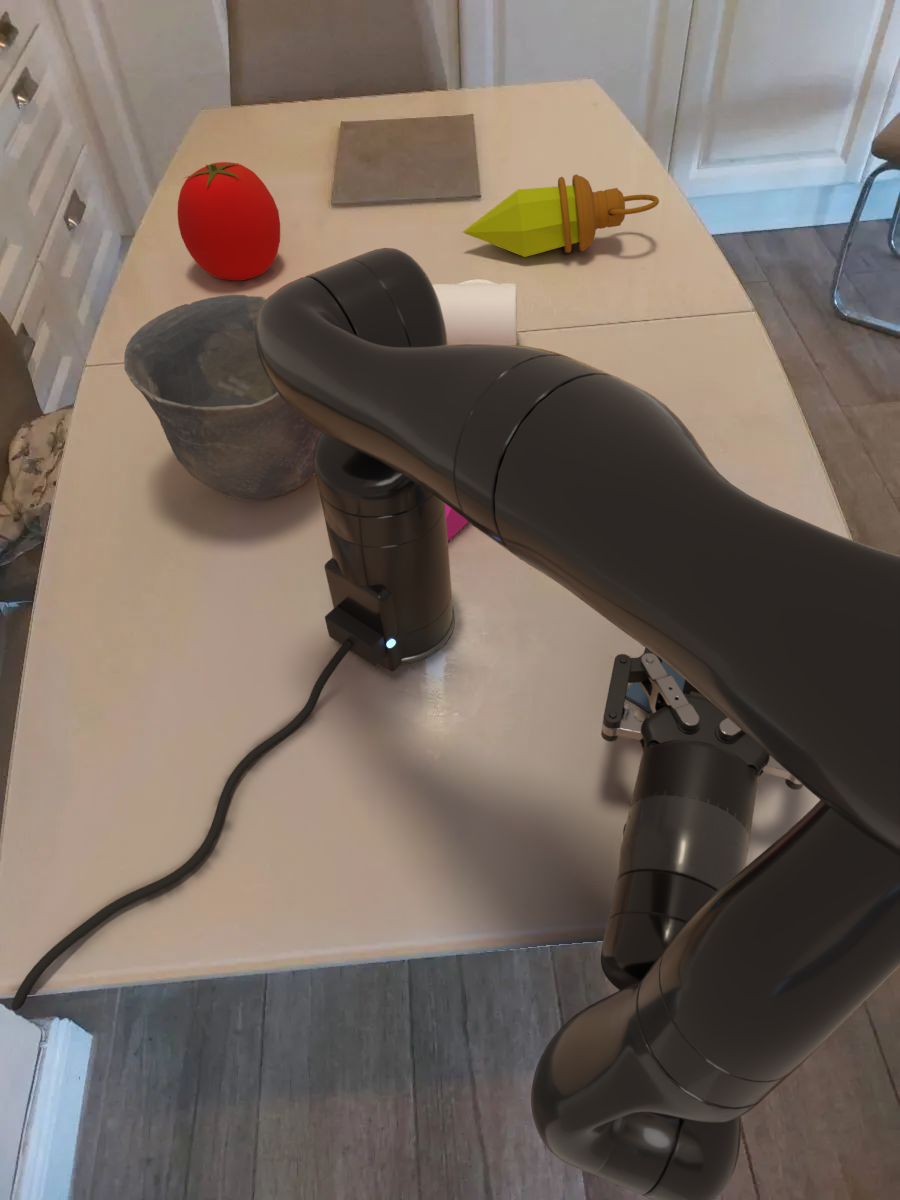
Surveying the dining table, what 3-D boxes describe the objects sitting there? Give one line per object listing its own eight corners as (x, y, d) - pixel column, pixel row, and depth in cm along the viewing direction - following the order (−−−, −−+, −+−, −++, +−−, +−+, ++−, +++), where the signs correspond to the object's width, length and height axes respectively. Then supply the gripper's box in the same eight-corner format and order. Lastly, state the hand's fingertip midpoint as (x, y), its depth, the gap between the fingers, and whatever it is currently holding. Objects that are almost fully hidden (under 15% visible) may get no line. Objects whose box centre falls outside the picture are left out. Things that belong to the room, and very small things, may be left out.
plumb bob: (466, 278, 116) (665, 247, 113) (454, 204, 111) (662, 169, 108) (468, 257, 124) (655, 227, 120) (457, 187, 118) (652, 153, 115)
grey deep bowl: (154, 537, 88) (100, 413, 76) (184, 422, 99) (142, 298, 88) (337, 528, 87) (311, 401, 76) (347, 413, 99) (326, 288, 87)
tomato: (182, 294, 116) (149, 184, 105) (204, 249, 123) (176, 141, 113) (278, 294, 115) (255, 183, 104) (295, 248, 122) (275, 140, 112)
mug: (515, 372, 102) (515, 309, 96) (427, 372, 103) (422, 309, 97) (517, 312, 110) (517, 250, 104) (435, 313, 111) (431, 251, 105)
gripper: (820, 837, 53) (838, 628, 63) (579, 772, 56) (632, 584, 66) (789, 889, 58) (810, 690, 68) (573, 828, 62) (622, 647, 72)
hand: (723, 638), depth 67 cm, fingers open, 8 cm apart
